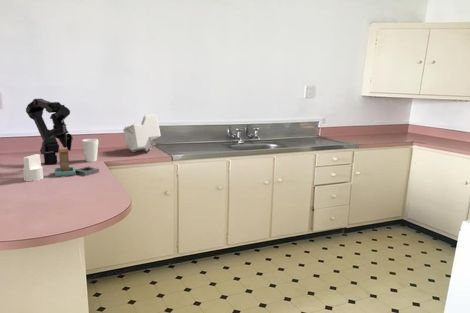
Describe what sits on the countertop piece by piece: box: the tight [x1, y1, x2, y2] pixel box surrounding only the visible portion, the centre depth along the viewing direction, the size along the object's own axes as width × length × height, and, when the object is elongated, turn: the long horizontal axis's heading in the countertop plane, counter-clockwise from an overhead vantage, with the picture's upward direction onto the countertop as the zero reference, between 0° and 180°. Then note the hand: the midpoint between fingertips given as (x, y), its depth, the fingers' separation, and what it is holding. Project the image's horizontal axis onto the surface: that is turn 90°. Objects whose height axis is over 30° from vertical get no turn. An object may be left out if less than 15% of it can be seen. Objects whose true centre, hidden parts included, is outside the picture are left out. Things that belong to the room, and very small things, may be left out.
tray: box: [54, 166, 76, 178], centre depth 209 cm, size 10×10×2 cm
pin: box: [58, 147, 70, 172], centre depth 207 cm, size 4×4×13 cm
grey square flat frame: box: [75, 166, 100, 177], centre depth 213 cm, size 9×9×2 cm
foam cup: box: [81, 138, 99, 163], centre depth 239 cm, size 10×9×13 cm
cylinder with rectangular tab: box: [22, 153, 44, 181], centre depth 198 cm, size 9×9×12 cm
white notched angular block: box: [122, 113, 162, 153], centre depth 267 cm, size 20×16×25 cm
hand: (67, 149), depth 215 cm, fingers open, 9 cm apart
